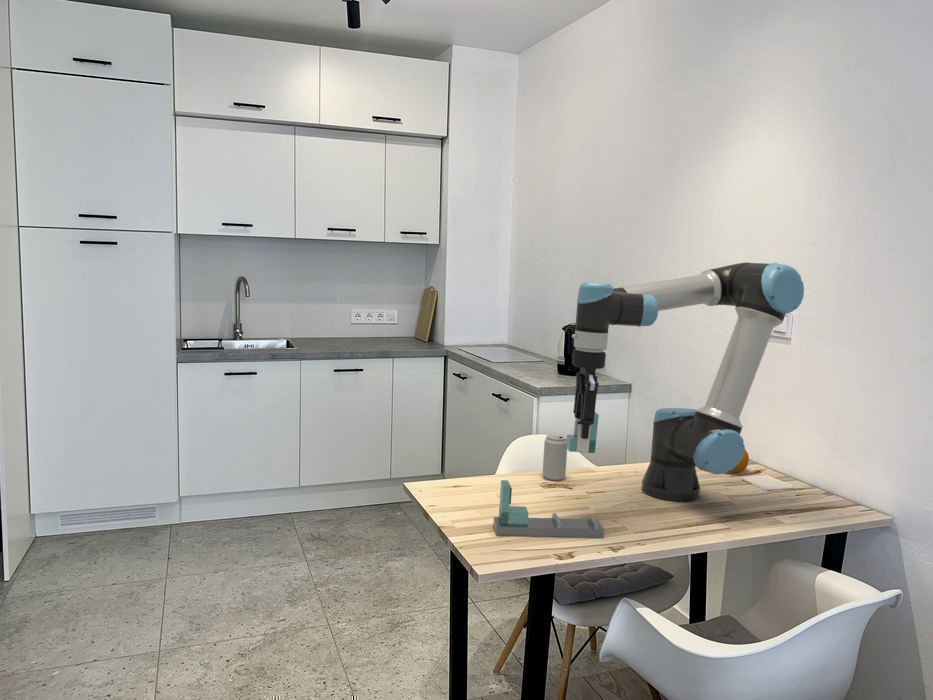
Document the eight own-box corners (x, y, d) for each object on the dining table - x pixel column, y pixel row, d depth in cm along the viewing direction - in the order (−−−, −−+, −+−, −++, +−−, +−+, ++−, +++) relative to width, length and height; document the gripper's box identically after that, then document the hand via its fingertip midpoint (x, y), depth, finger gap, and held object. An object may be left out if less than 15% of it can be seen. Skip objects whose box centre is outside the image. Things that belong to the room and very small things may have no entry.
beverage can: (564, 482, 200) (567, 440, 198) (541, 479, 201) (543, 437, 200) (565, 475, 206) (568, 434, 205) (543, 473, 208) (546, 432, 206)
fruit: (742, 478, 213) (746, 445, 212) (702, 470, 219) (705, 438, 218) (751, 469, 223) (754, 438, 221) (712, 462, 229) (715, 431, 228)
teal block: (591, 448, 172) (594, 411, 171) (594, 453, 168) (598, 415, 167) (566, 447, 171) (569, 409, 170) (569, 451, 167) (572, 413, 166)
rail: (596, 527, 167) (600, 481, 166) (603, 537, 162) (607, 490, 160) (493, 525, 166) (496, 478, 164) (496, 535, 160) (499, 487, 158)
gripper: (567, 344, 175) (558, 438, 178) (580, 353, 158) (571, 457, 161) (597, 346, 175) (588, 440, 178) (614, 355, 158) (604, 460, 161)
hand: (580, 448), depth 169 cm, fingers closed on teal block, 4 cm apart
